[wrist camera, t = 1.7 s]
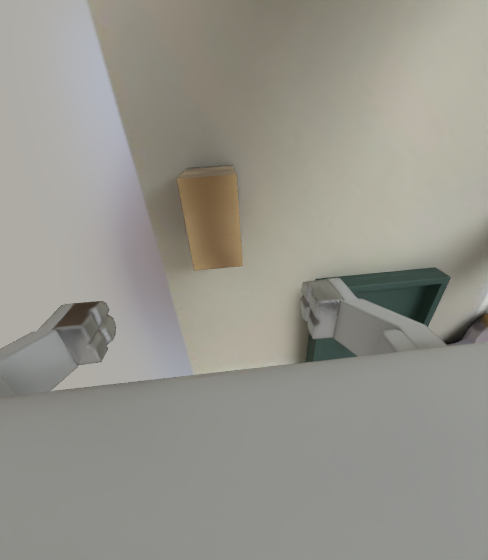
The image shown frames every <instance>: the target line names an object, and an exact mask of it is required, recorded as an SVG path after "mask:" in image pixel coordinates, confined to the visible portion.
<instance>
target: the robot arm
mask: <svg viewBox="0 0 488 560" xmlns="http://www.w3.org/2000/svg"><path fill="white" fill-rule="evenodd" d="M301 291H302V293H303V295H304V296H303V297H302V298H301V304H300V306H301V313H302V317H303V319H304V321H306V322H308V330H309V332H310V334H311V336H312V338H313V339H322V338H334V339H335V340H336V341H338V342H339V343H340V344H342V345H343V346H344V347H346V348H347V349H348V350H350V351H351V352H353V353H354V354H355V355H357V356H358V357H349V358H341V359H332V360H323V361H315V362H306V363H297V364H288V365H279V366H270V367H261V368H252V369H243V370H234V371H225V372H216V373H208V374H199V375H190V376H181V377H173V378H164V379H156V380H146V381H137V382H128V383H120V384H111V385H102V386H93V387H84V388H75V389H66V390H57V391H51V390H52V389H53V388H54V387H56V386H57V385H58V384H59V383H60V382H61V381H62V380H63V379H65V378H66V377H67V376H68V375H69V374H70V373H71V372H73V371H74V370H75V369H76V368H77V367H78V365H83V364H91V363H98V362H101V361H102V359H103V358H104V355H105V354H106V352H107V350H108V347H107V344H109V343H110V342H111V341H112V340H113V339H114V336H115V333H116V325H115V321H114V319H113V318H112V317H111V316H109V315H108V312H109V308H108V306H107V304H106V303H105V302H103V301H99V302H85V303H73V304H65V305H61V306H60V307H59V308H58V309H57V311H56V312H54V314H53V315H52V316H51V317H50V318H49V319H48V320H47V321H46V322H45V323H44V324H43V325H42V326H41V327H40V328H39V329H38V330H37V331H36V332H31V333H29V334H28V335H26V336H24V337H22V338H20V339H18V340H16V341H14V342H13V343H10V344H9V345H7V346H5V347H3V348H1V349H0V560H488V342H482V343H473V344H465V345H456V346H447V345H446V344H445V343H444V342H443V341H442V340H441V339H440V338H439V337H438V336H437V335H436V334H434V333H433V332H432V331H431V330H430V329H429V328H428V327H427V326H426V325H424V324H421V323H419V322H417V321H414V320H412V319H409V318H407V317H405V316H402V315H400V314H397V313H395V312H393V311H390V310H388V309H385V308H383V307H381V306H378V305H376V304H373V303H371V302H369V301H366V300H364V299H358V298H357V297H356V296H355V295H354V294H353V293H352V291H351V290H350V289H349V288H348V287H347V286H346V284H345V283H344V282H343V281H342V280H341V279H340V278H332V279H325V280H316V281H308V282H303V284H302V290H301Z"/></svg>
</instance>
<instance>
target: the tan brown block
mask: <svg viewBox="0 0 488 560" xmlns="http://www.w3.org/2000/svg"><path fill="white" fill-rule="evenodd" d="M177 184H178V189H179V194H180V200H181V205H182V210H183V215H184V220H185V226H186V231H187V236H188V241H189V246H190V251H191V257H192V262H193V267H194V270H205V269H216V268H226V267H237V266H243V261H242V246H241V232H240V217H239V202H238V188H237V175H236V172H235V170H234V167H233V165H222V166H208V167H194V168H187V169H186V170H185V171H184V172H183V173H182V174H181V175H180V176H179V177H178V178H177Z"/></svg>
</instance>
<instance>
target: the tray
mask: <svg viewBox="0 0 488 560" xmlns="http://www.w3.org/2000/svg"><path fill="white" fill-rule="evenodd" d="M332 278H340V279H341V280H342V281H343V282H344V283H345V284H346V286H347V287H348V288H349V289H350V290H351V291H352V293H353V294H354V295H355V296H356V297H357V298H358V299H364V300H366V301H369V302H371V303H373V304H376V305H378V306H381V307H383V308H385V309H388V310H390V311H393V312H395V313H397V314H400V315H402V316H405V317H407V318H409V319H412V320H414V321H417V322H419V323H421V324H424V325H426V326H427V327H428V325H429V323H430V321H431V319H432V317H433V314H434V312H435V310H436V308H437V306H438V304H439V302H440V300H441V297H442V295H443V293H444V291H445V289H446V287H447V285H448V282H449V280H450V278H451V277H450V276H448V275H446V274H445V273H443V272H442V271H440V270H438V269H437V268H426V269H416V270H405V271H395V272H384V273H374V274H363V275H353V276H342V277H332ZM332 278H321V279H316V280H325V279H332ZM349 357H358V356H357V355H355V354H354V353H353V352H351V351H350V350H348V349H347V348H346V347H344V346H343V345H342V344H340V343H339V342H338V341H336V340H335V339H334V338H322V339H313V338H312V336H311V334H310V333H309V341H308V350H307V358H306V362H315V361H323V360H332V359H341V358H349Z"/></svg>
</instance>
